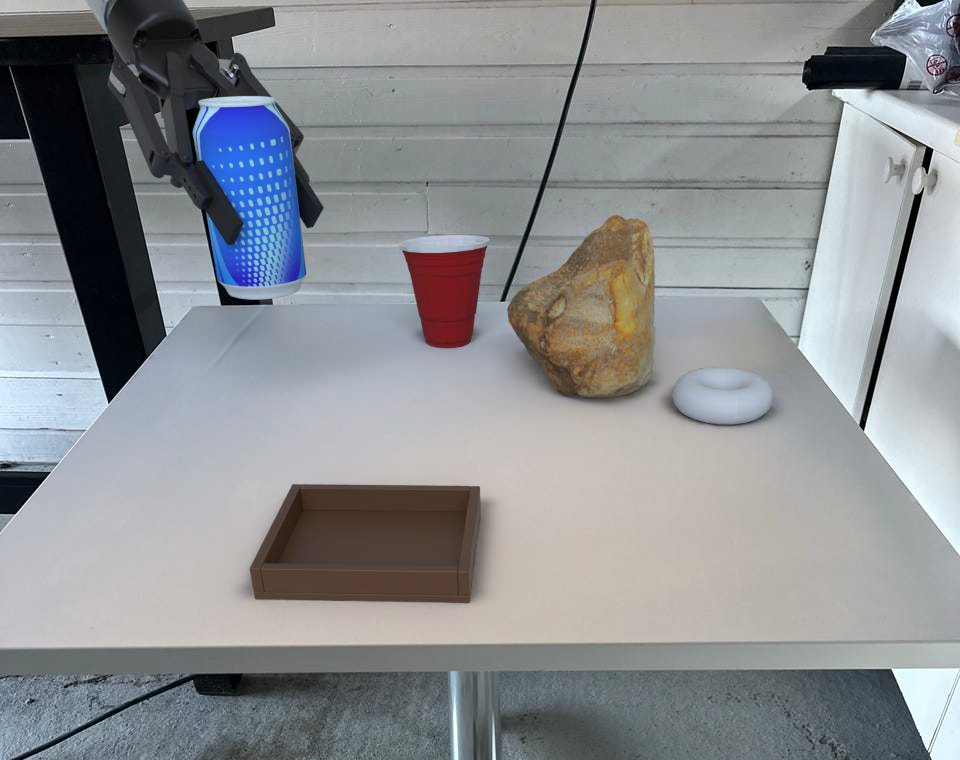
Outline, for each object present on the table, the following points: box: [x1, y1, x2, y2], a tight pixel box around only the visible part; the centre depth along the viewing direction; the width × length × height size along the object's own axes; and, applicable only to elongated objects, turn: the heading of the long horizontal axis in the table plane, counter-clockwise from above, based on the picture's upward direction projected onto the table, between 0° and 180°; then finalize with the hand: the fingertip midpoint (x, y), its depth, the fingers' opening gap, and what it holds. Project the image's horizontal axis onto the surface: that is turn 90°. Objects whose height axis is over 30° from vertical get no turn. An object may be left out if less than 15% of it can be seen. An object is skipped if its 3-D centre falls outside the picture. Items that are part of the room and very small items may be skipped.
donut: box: [671, 366, 774, 426], centre depth 93 cm, size 10×4×10 cm
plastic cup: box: [398, 234, 491, 349], centre depth 111 cm, size 11×11×12 cm
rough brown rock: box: [506, 214, 656, 399], centre depth 101 cm, size 23×17×15 cm
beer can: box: [192, 96, 307, 301], centre depth 85 cm, size 8×8×16 cm
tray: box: [249, 483, 482, 604], centre depth 71 cm, size 16×14×3 cm
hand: (276, 225), depth 84 cm, fingers closed on beer can, 8 cm apart
